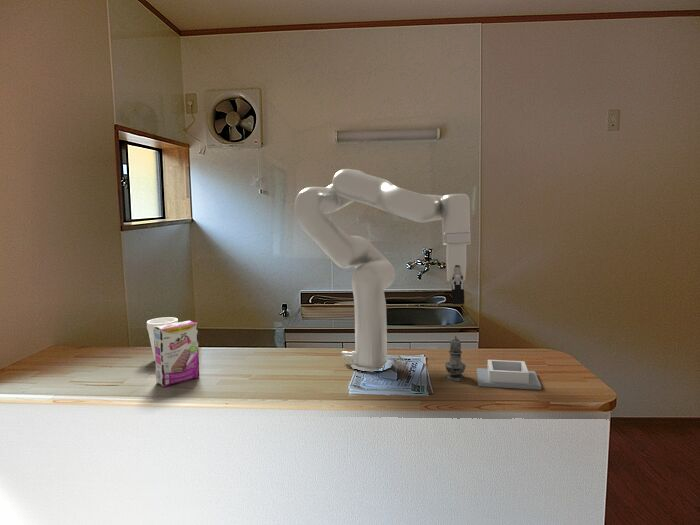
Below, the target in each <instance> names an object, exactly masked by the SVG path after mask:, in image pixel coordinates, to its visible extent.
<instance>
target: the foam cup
mask: <svg viewBox="0 0 700 525" xmlns="http://www.w3.org/2000/svg"><path fill="white" fill-rule="evenodd" d="M178 322H179V319H178V318H177V317H174V316H173V317H171V316H168V317H157V318H152V319H149V320H147V321H146V330H147V331H148V336H149V342H150V346H151V350H152V351H151V352H152V356H153V360H154V361H155V347H154V327H155V326H161V325H166V324H172V323H178Z"/></svg>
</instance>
